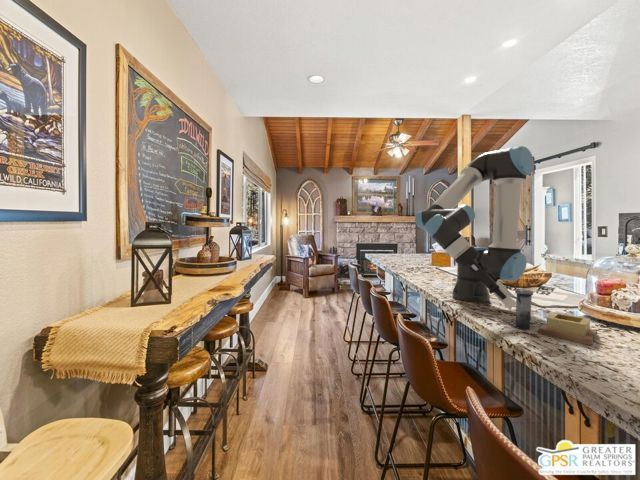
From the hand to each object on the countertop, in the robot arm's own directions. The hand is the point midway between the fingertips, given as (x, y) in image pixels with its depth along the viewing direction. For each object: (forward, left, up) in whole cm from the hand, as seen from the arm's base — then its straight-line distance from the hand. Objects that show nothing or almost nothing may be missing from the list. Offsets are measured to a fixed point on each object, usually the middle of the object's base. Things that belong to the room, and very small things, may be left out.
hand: (511, 302), depth 100 cm
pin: (-2, +3, -8) cm, 9 cm away
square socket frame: (-5, +14, -7) cm, 16 cm away
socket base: (-5, +14, -8) cm, 17 cm away
